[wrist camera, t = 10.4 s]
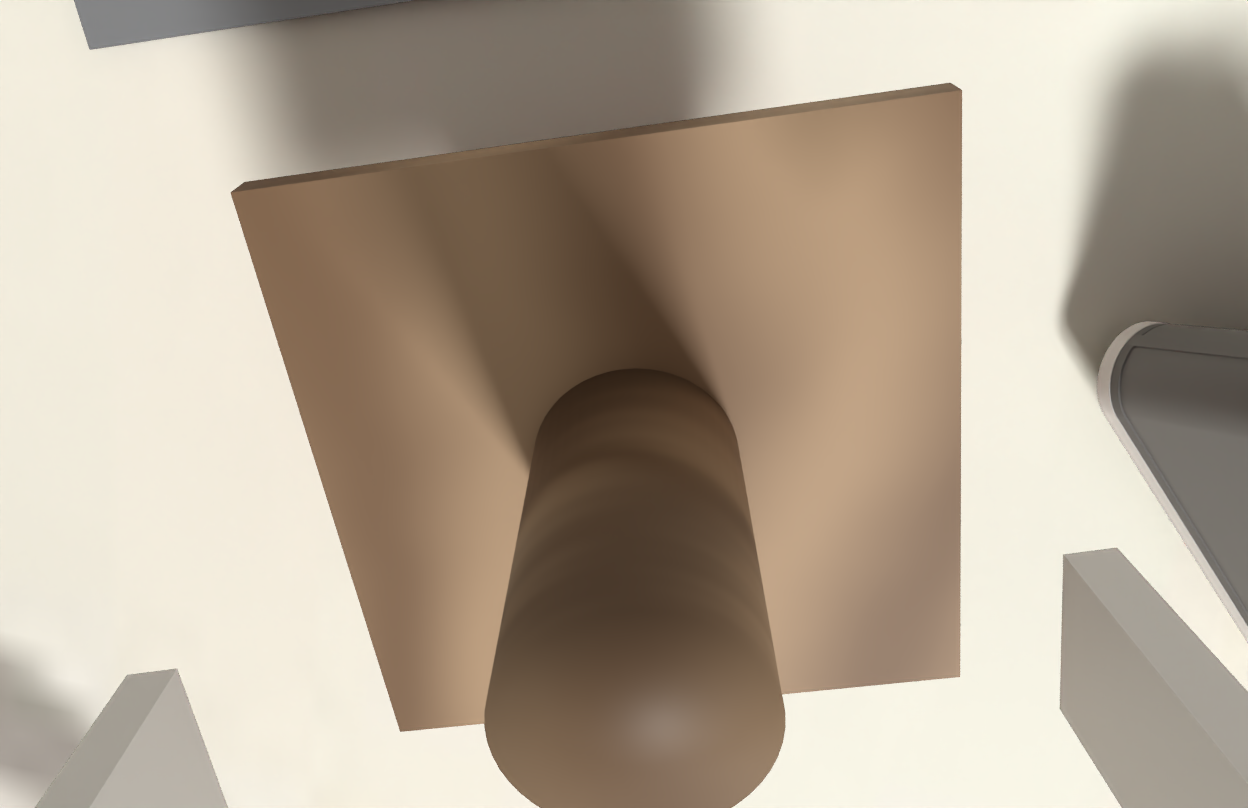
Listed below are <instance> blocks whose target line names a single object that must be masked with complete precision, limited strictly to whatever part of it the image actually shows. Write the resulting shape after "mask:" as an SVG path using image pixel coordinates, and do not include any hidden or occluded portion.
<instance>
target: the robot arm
mask: <svg viewBox="0 0 1248 808" xmlns="http://www.w3.org/2000/svg"><path fill="white" fill-rule="evenodd" d="M1060 710H1061V711H1062V713H1063V715H1064V716H1065V718H1066V719H1067V721H1068V723H1069V724H1070V726H1071V727H1072V729H1073V731H1074V732H1075V734H1076V735H1077V737H1078V739H1079V740H1080V742H1081V743H1082V745H1083V747H1084V748H1085V750H1086V751H1087V753H1088V755H1089V756H1090V758H1091V759H1092V761H1093V763H1094V764H1095V766H1096V767H1097V769H1098V771H1099V772H1100V774H1101V775H1102V777H1103V778H1104V780H1105V782H1106V783H1107V785H1108V786H1109V788H1110V790H1111V791H1112V793H1113V794H1114V796H1115V798H1116V799H1117V801H1118V802H1119V804H1120V806H1121V807H1122V808H1248V692H1247V690H1246V689H1245V688H1244V687H1243V686H1242V685H1241V684H1240V683H1239V682H1238V681H1237V679H1236V678H1235V677H1234V676H1233V675H1232V674H1231V673H1230V672H1229V671H1228V670H1227V668H1226V667H1225V666H1224V665H1223V664H1222V663H1221V662H1220V661H1219V660H1218V658H1217V657H1216V656H1215V655H1214V654H1213V653H1212V652H1211V651H1210V650H1209V649H1208V647H1207V646H1206V645H1205V644H1204V643H1203V642H1202V641H1201V640H1200V639H1199V638H1198V636H1197V635H1196V634H1195V633H1194V632H1193V631H1192V630H1191V629H1190V628H1189V627H1188V625H1187V624H1186V623H1185V622H1184V621H1183V620H1182V619H1181V618H1180V617H1179V616H1178V614H1177V613H1176V612H1175V611H1174V610H1173V609H1172V608H1171V607H1170V606H1169V605H1168V603H1167V602H1166V601H1165V600H1164V599H1163V598H1162V597H1161V596H1160V595H1159V594H1158V592H1157V591H1156V590H1155V589H1154V588H1153V587H1152V586H1151V585H1150V584H1149V582H1148V581H1147V580H1146V579H1145V578H1144V577H1143V576H1142V575H1141V574H1140V573H1139V571H1138V570H1137V569H1136V568H1135V567H1134V566H1133V565H1132V564H1131V563H1130V562H1129V560H1128V559H1127V558H1126V557H1125V556H1124V555H1123V554H1122V553H1121V552H1120V551H1119V549H1118V548H1111V549H1103V550H1095V551H1087V552H1080V553H1072V554H1064V555H1063V592H1062V636H1061V680H1060ZM35 808H228V806H227V804H226V801H225V798H224V796H223V793H222V790H221V787H220V785H219V782H218V779H217V776H216V774H215V771H214V768H213V765H212V763H211V760H210V757H209V755H208V752H207V749H206V746H205V744H204V741H203V738H202V735H201V733H200V730H199V727H198V725H197V722H196V719H195V716H194V714H193V711H192V708H191V705H190V703H189V700H188V697H187V694H186V692H185V689H184V686H183V684H182V681H181V678H180V675H179V673H178V670H177V669H170V670H162V671H155V672H147V673H139V674H131V675H127V676H126V677H125V679H124V680H123V682H122V683H121V684H120V686H119V687H118V689H117V690H116V692H115V693H114V695H113V696H112V697H111V699H110V700H109V702H108V703H107V705H106V706H105V708H104V709H103V710H102V712H101V713H100V715H99V716H98V718H97V719H96V720H95V722H94V723H93V725H92V726H91V728H90V729H89V731H88V732H87V733H86V735H85V736H84V738H83V739H82V741H81V742H80V743H79V745H78V746H77V748H76V749H75V751H74V752H73V754H72V755H71V756H70V758H69V759H68V761H67V762H66V764H65V765H64V767H63V768H62V769H61V771H60V772H59V774H58V775H57V777H56V778H55V779H54V781H53V782H52V784H51V785H50V787H49V788H48V790H47V791H46V792H45V794H44V795H43V797H42V798H41V800H40V801H39V802H38V804H37V805H36V807H35Z"/></svg>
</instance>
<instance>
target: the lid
mask: <svg viewBox="0 0 1248 808" xmlns="http://www.w3.org/2000/svg"><path fill="white" fill-rule="evenodd" d="M231 195H232V198H233V202H234V205H235V208H236V211H237V214H238V217H239V221H240V224H241V227H242V230H243V233H244V237H245V240H246V243H247V246H248V249H249V252H250V256H251V259H252V262H253V265H254V268H255V272H256V275H257V278H258V281H259V284H260V287H261V291H262V294H263V297H264V300H265V303H266V306H267V310H268V313H269V316H270V319H271V322H272V326H273V329H274V332H275V335H276V338H277V341H278V345H279V348H280V351H281V354H282V357H283V360H284V364H285V367H286V370H287V373H288V376H289V380H290V383H291V386H292V389H293V392H294V395H295V399H296V402H297V405H298V408H299V411H300V415H301V418H302V421H303V424H304V427H305V430H306V434H307V437H308V440H309V443H310V446H311V449H312V453H313V456H314V459H315V462H316V465H317V469H318V472H319V475H320V478H321V481H322V484H323V488H324V491H325V494H326V497H327V500H328V504H329V507H330V510H331V513H332V516H333V519H334V523H335V526H336V529H337V532H338V535H339V538H340V542H341V545H342V548H343V551H344V554H345V558H346V561H347V564H348V567H349V570H350V573H351V577H352V580H353V583H354V586H355V589H356V592H357V596H358V599H359V602H360V605H361V608H362V612H363V615H364V618H365V621H366V624H367V627H368V631H369V634H370V637H371V640H372V643H373V647H374V650H375V653H376V656H377V659H378V662H379V666H380V669H381V672H382V675H383V678H384V681H385V685H386V688H387V691H388V694H389V697H390V701H391V704H392V707H393V710H394V713H395V716H396V720H397V723H398V726H399V729H400V732H402V731H412V730H422V729H433V728H443V727H453V726H463V725H473V724H484V725H485V732H486V738H487V742H488V745H489V748H490V751H491V753H492V756H493V758H494V760H495V761H496V763H497V765H498V767H499V769H500V770H501V772H502V773H503V774H504V776H505V777H506V778H507V779H508V781H509V782H510V783H511V784H512V785H513V786H514V787H515V788H516V789H517V790H518V791H519V792H520V793H521V794H522V795H524V796H525V797H526V798H527V799H529V800H530V801H531V802H532V803H534V804H535V805H537V806H539V807H540V808H732V807H733V806H735V805H736V804H738V803H739V802H740V801H742V800H743V799H744V798H745V797H747V796H748V795H749V794H750V793H751V792H752V791H753V790H754V789H755V788H756V787H757V786H758V785H759V784H760V783H761V782H762V781H763V780H764V778H765V777H766V775H767V774H768V773H769V771H770V770H771V768H772V766H773V765H774V763H775V761H776V759H777V757H778V755H779V752H780V749H781V746H782V743H783V738H784V732H785V709H784V703H783V697H782V694H790V693H800V692H810V691H820V690H830V689H841V688H851V687H861V686H871V685H881V684H892V683H902V682H912V681H922V680H932V679H943V678H953V677H960V530H961V219H962V90H961V89H959V88H958V87H956V86H955V85H953V84H951V83H945V84H938V85H931V86H924V87H917V88H910V89H903V90H896V91H888V92H881V93H874V94H867V95H860V96H853V97H846V98H839V99H832V100H824V101H817V102H810V103H803V104H796V105H789V106H782V107H775V108H768V109H761V110H753V111H746V112H739V113H732V114H725V115H718V116H711V117H704V118H697V119H689V120H682V121H675V122H668V123H661V124H654V125H647V126H640V127H633V128H626V129H618V130H611V131H604V132H597V133H590V134H583V135H576V136H569V137H562V138H554V139H547V140H540V141H533V142H526V143H519V144H512V145H505V146H498V147H491V148H483V149H476V150H469V151H462V152H455V153H448V154H441V155H434V156H427V157H419V158H412V159H405V160H398V161H391V162H384V163H377V164H370V165H363V166H356V167H348V168H341V169H334V170H327V171H320V172H313V173H306V174H299V175H292V176H284V177H277V178H270V179H263V180H256V181H249V182H244V183H243V184H241V185H240V186H239V187H237V188H236V189H235V190H233V191H232V192H231Z"/></svg>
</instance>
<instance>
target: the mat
mask: <svg viewBox="0 0 1248 808" xmlns="http://www.w3.org/2000/svg"><path fill="white" fill-rule="evenodd" d="M407 1H413V0H74V2H75V5H76V8H77V11H78V15H79V18H80V21H81V24H82V27H83V30H84V33H85V37H86V40H87V43H88V46H89V49H90V50H91V49H98V48H105V47H112V46H118V45H125V44H131V43H138V42H144V41H151V40H157V39H164V38H171V37H177V36H184V35H190V34H197V33H203V32H210V31H216V30H223V29H230V28H236V27H243V26H249V25H256V24H262V23H269V22H276V21H282V20H289V19H295V18H302V17H308V16H315V15H321V14H328V13H335V12H341V11H348V10H354V9H361V8H367V7H374V6H380V5H387V4H394V3H400V2H407Z"/></svg>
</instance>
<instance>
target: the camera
mask: <svg viewBox="0 0 1248 808" xmlns="http://www.w3.org/2000/svg"><path fill="white" fill-rule="evenodd" d="M1097 394H1098V400H1099V405H1100V407H1101V410H1102V412H1103V414H1104V416H1105V417H1106V419H1107V421H1108V422H1109V424H1110V425H1111V427H1112V428H1113V430H1114V432H1115V433H1116V435H1117V436H1118V438H1119V440H1120V441H1121V443H1122V444H1123V446H1124V448H1125V449H1126V451H1127V452H1128V454H1129V455H1130V457H1131V459H1132V460H1133V462H1134V463H1135V465H1136V467H1137V468H1138V470H1139V471H1140V473H1141V475H1142V476H1143V478H1144V479H1145V481H1146V482H1147V484H1148V486H1149V487H1150V489H1151V490H1152V492H1153V494H1154V495H1155V497H1156V498H1157V500H1158V501H1159V503H1160V505H1161V506H1162V508H1163V509H1164V511H1165V513H1166V514H1167V516H1168V517H1169V519H1170V521H1171V522H1172V524H1173V525H1174V527H1175V528H1176V530H1177V532H1178V533H1179V535H1180V536H1181V538H1182V540H1183V541H1184V543H1185V544H1186V546H1187V548H1188V549H1189V551H1190V552H1191V554H1192V555H1193V557H1194V559H1195V560H1196V562H1197V563H1198V565H1199V567H1200V568H1201V570H1202V571H1203V573H1204V575H1205V576H1206V578H1207V579H1208V581H1209V582H1210V584H1211V586H1212V587H1213V589H1214V590H1215V592H1216V594H1217V595H1218V597H1219V598H1220V600H1221V601H1222V603H1223V605H1224V606H1225V608H1226V609H1227V611H1228V613H1229V614H1230V616H1231V617H1232V619H1233V621H1234V622H1235V624H1236V625H1237V627H1238V628H1239V630H1240V632H1241V633H1242V635H1243V636H1244V638H1245V640H1246V641H1247V643H1248V330H1236V329H1224V328H1212V327H1200V326H1188V325H1176V324H1169V323H1163V322H1151V321H1147V322H1140V323H1137V324H1134V325H1132V326H1130V327H1128V328H1127V329H1125V330H1124V331H1123V332H1121V333H1120V334H1119V335H1118V336H1117V337H1116V338H1115V340H1114V341H1113V342H1112V343H1111V345H1110V346H1109V348H1108V349H1107V351H1106V353H1105V355H1104V357H1103V360H1102V362H1101V365H1100V369H1099V373H1098V380H1097Z"/></svg>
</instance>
